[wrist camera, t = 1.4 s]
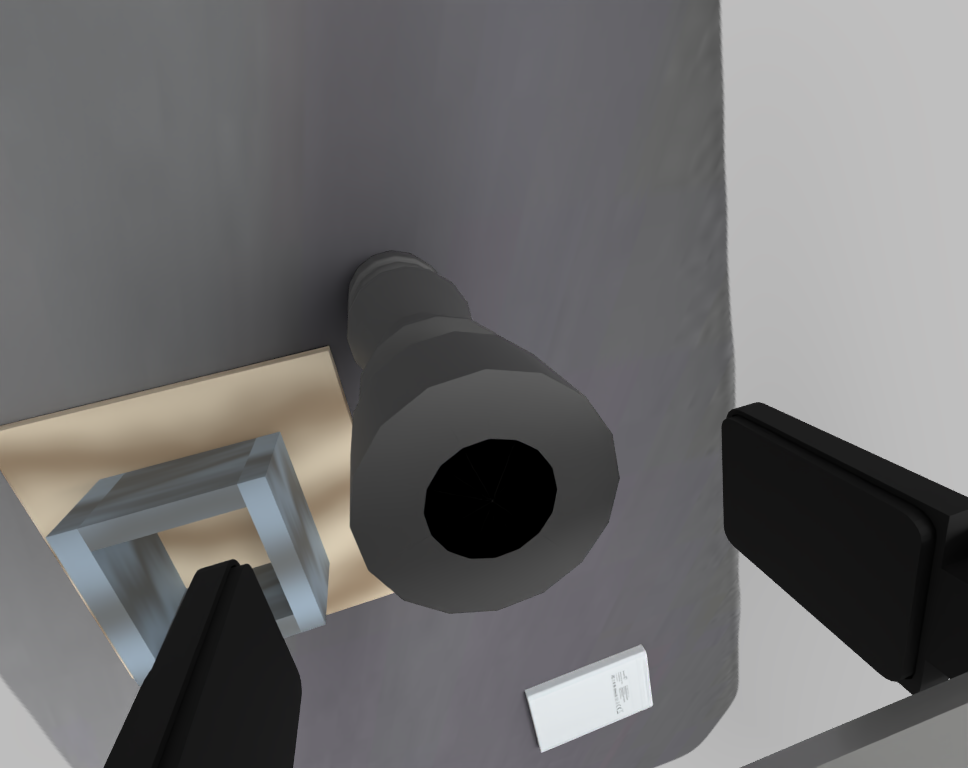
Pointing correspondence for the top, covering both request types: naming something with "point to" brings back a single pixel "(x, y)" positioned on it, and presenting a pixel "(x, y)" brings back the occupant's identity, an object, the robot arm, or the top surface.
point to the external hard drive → (590, 697)
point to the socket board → (198, 496)
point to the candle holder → (465, 449)
